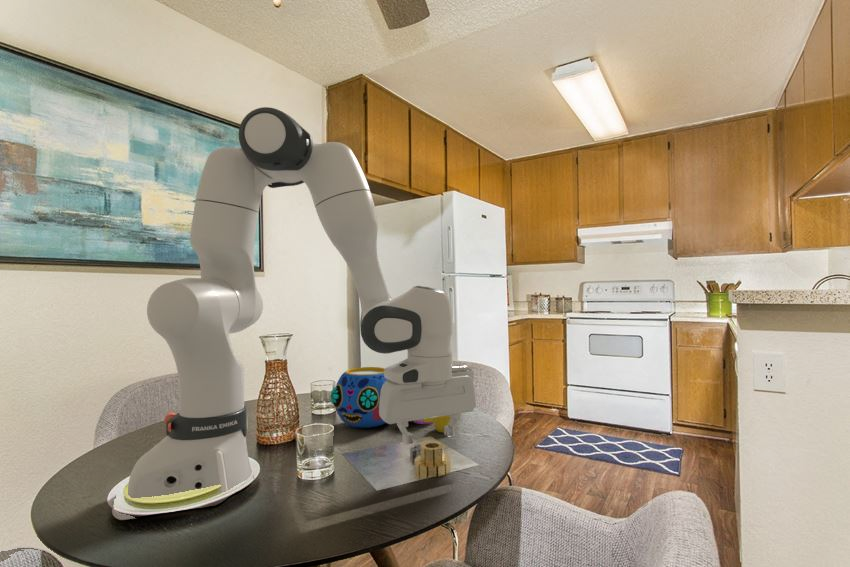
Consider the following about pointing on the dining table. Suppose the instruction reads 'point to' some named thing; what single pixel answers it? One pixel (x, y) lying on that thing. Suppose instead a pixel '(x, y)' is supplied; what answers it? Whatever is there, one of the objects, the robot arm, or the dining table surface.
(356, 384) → the ceramic pot
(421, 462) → the gear
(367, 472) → the plate
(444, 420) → the lemon
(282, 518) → the dining table surface
